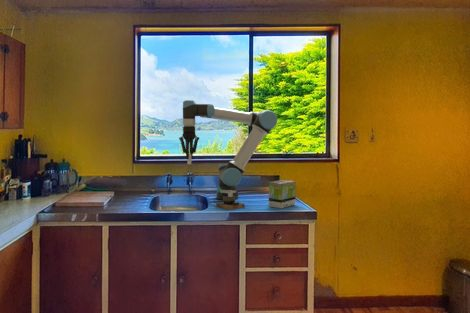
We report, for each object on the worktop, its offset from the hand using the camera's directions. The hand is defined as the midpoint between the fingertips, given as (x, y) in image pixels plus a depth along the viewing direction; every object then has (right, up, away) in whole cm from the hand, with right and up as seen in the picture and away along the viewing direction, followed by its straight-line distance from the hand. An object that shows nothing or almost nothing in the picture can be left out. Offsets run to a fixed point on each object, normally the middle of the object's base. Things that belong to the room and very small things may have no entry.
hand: (189, 164), depth 216 cm
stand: (+25, -25, -9) cm, 37 cm away
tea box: (+57, -25, -5) cm, 62 cm away
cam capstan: (+23, -23, -7) cm, 33 cm away
